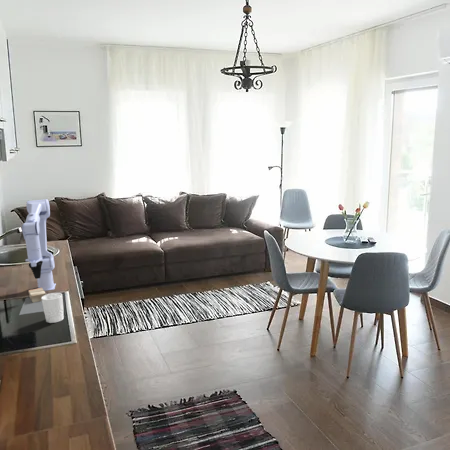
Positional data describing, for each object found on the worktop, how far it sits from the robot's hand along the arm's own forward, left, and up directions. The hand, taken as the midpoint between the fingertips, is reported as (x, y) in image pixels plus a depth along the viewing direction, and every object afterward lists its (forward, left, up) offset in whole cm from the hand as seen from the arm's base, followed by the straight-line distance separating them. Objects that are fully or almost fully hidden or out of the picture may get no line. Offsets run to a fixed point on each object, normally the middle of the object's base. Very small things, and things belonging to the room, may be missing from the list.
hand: (37, 278), depth 209 cm
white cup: (+28, +8, -11) cm, 31 cm away
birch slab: (+3, 0, -8) cm, 9 cm away
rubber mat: (+6, 0, -10) cm, 12 cm away
